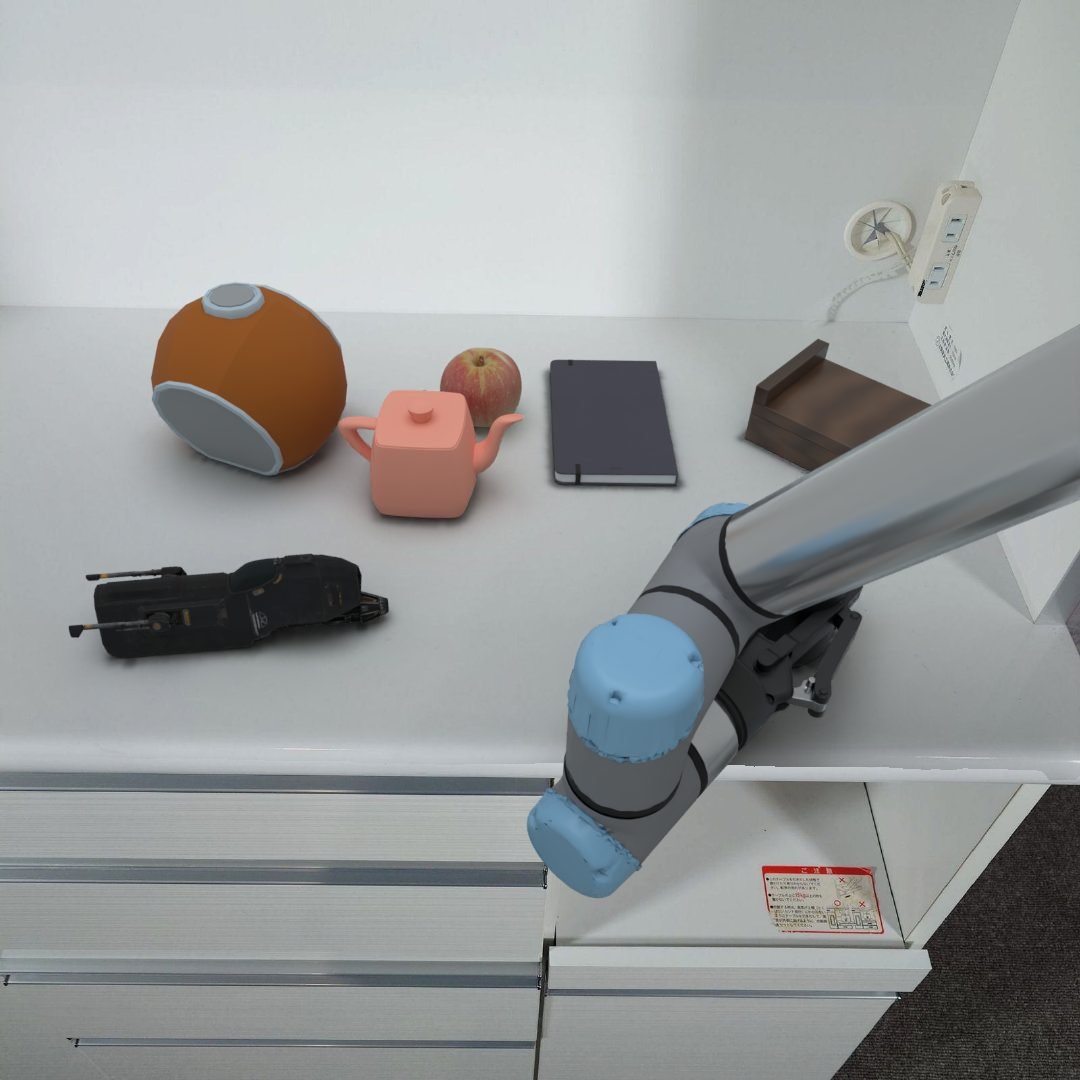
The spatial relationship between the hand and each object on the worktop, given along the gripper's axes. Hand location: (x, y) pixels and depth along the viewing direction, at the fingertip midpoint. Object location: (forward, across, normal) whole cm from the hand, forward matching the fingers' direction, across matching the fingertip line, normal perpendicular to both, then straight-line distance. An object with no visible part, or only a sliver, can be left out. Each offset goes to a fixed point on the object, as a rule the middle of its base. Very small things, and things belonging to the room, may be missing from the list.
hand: (853, 553), depth 80 cm
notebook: (+6, -32, -6) cm, 33 cm away
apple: (-3, -43, -6) cm, 44 cm away
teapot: (-15, -38, -6) cm, 41 cm away
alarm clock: (-22, -57, -6) cm, 61 cm away
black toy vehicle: (-39, -36, -6) cm, 54 cm away
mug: (-6, -2, -6) cm, 9 cm away
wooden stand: (+21, -12, -6) cm, 25 cm away
